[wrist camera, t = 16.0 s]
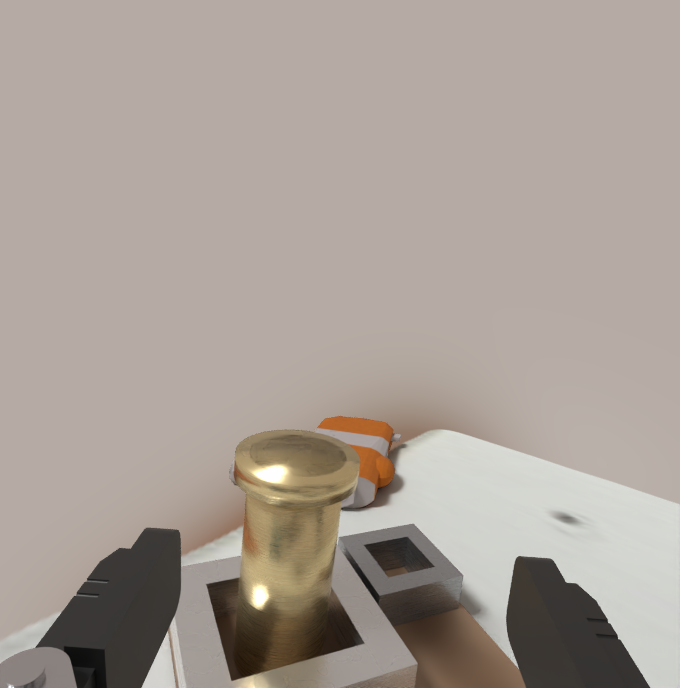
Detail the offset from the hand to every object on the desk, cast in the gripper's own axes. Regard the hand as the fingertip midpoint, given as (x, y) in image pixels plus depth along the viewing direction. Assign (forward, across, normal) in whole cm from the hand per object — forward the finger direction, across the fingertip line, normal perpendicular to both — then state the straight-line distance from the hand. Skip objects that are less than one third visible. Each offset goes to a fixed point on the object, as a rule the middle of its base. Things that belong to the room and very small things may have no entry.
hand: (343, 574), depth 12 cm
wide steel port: (+14, +3, +17) cm, 22 cm away
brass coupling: (+13, +3, +16) cm, 21 cm away
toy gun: (+40, +2, +18) cm, 44 cm away
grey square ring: (+20, -4, +17) cm, 26 cm away
